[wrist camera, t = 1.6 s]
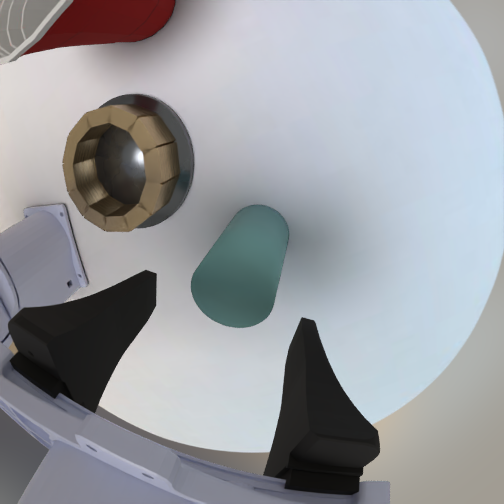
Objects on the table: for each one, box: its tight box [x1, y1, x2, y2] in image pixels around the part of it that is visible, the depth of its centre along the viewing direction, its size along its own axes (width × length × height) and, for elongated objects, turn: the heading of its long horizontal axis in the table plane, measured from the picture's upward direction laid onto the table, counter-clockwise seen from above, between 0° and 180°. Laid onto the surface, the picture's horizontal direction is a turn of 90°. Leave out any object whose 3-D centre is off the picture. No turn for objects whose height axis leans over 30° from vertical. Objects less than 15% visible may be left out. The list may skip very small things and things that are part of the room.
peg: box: [191, 205, 289, 328], centre depth 18 cm, size 4×4×8 cm
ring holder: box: [62, 94, 194, 232], centre depth 20 cm, size 11×11×3 cm
